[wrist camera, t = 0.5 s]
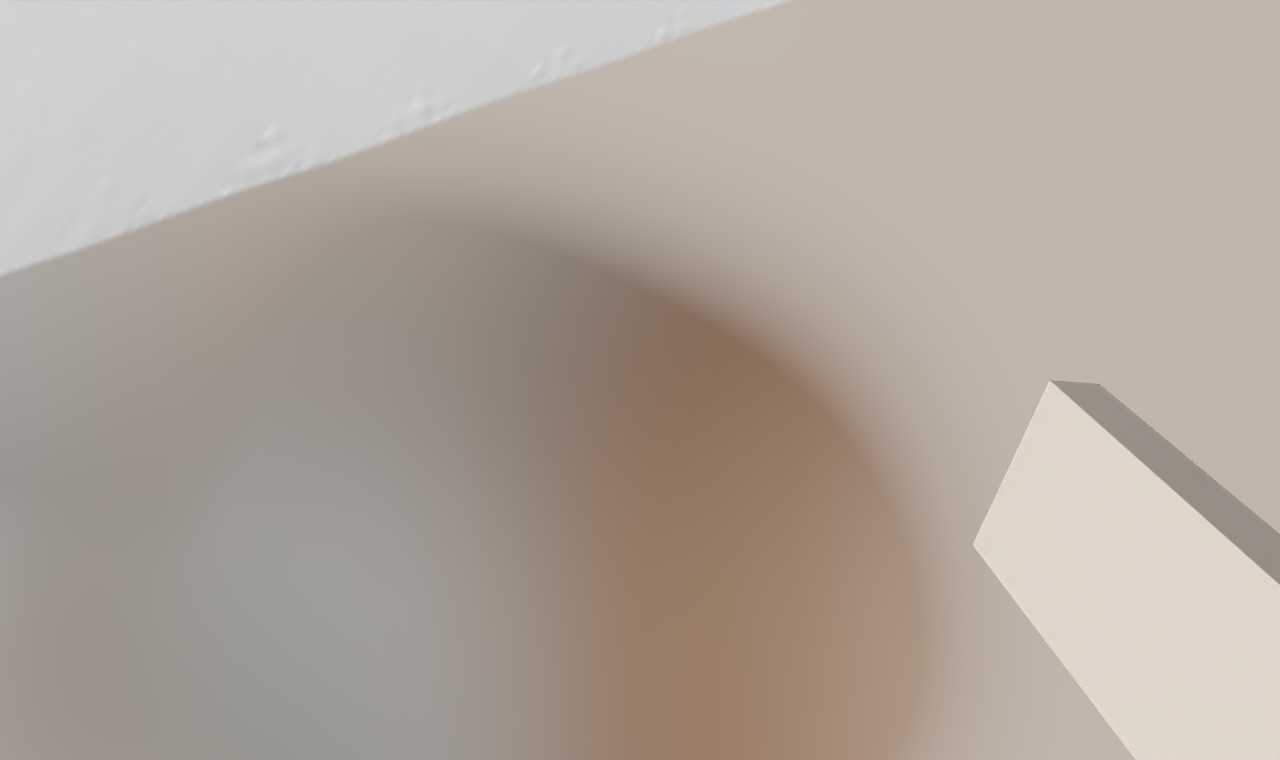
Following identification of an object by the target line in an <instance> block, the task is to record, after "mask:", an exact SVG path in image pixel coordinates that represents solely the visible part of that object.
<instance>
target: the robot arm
mask: <svg viewBox="0 0 1280 760" xmlns="http://www.w3.org/2000/svg"><path fill="white" fill-rule="evenodd" d="M973 546H974V547H975V549H976V550H977V551H978V552H979V554H980V555H981V556H982V558H983V559H984V560H985V562H986V563H987V564H988V566H989V567H990V568H991V570H992V571H993V572H994V574H995V575H996V576H997V578H998V579H999V580H1000V581H1001V583H1002V584H1003V585H1004V587H1005V588H1006V589H1007V591H1008V592H1009V593H1010V595H1011V596H1012V597H1013V599H1014V600H1015V601H1016V603H1017V604H1018V605H1019V607H1020V608H1021V609H1022V610H1023V612H1024V613H1025V614H1026V616H1027V617H1028V618H1029V620H1030V621H1031V622H1032V624H1033V625H1034V626H1035V628H1036V629H1037V630H1038V631H1039V633H1040V634H1041V635H1042V637H1043V638H1044V639H1045V640H1046V642H1047V643H1048V645H1049V646H1050V647H1051V649H1052V650H1053V651H1054V652H1055V654H1056V655H1057V656H1058V658H1059V659H1060V660H1061V662H1062V663H1063V664H1064V666H1065V667H1066V668H1067V670H1068V671H1069V672H1070V674H1071V675H1072V676H1073V678H1074V679H1075V680H1076V682H1077V683H1078V684H1079V686H1080V687H1081V688H1082V689H1083V691H1084V692H1085V693H1086V695H1087V696H1088V697H1089V699H1090V700H1091V701H1092V702H1093V704H1094V705H1095V706H1096V707H1097V709H1098V710H1099V712H1100V713H1101V714H1102V716H1103V717H1104V718H1105V720H1106V721H1107V722H1108V724H1109V725H1110V726H1111V728H1112V729H1113V730H1114V732H1115V733H1116V734H1117V736H1118V737H1119V738H1120V739H1121V741H1122V742H1123V743H1124V745H1125V746H1126V747H1127V748H1128V750H1129V751H1130V753H1131V754H1132V755H1133V757H1134V758H1135V759H1136V760H1280V534H1279V533H1278V532H1277V531H1276V530H1274V529H1273V528H1272V527H1271V526H1270V525H1268V524H1267V523H1266V522H1265V521H1263V520H1262V519H1261V518H1260V517H1259V516H1258V515H1256V514H1255V513H1254V512H1253V511H1251V510H1250V509H1249V508H1248V507H1247V506H1245V505H1244V504H1243V503H1242V502H1241V501H1239V500H1238V499H1237V498H1236V497H1235V496H1233V495H1232V494H1231V493H1230V492H1229V491H1227V490H1226V489H1225V488H1224V487H1222V486H1221V485H1220V484H1219V483H1218V482H1217V481H1215V480H1214V479H1213V478H1212V477H1211V476H1209V475H1208V474H1207V473H1206V472H1205V471H1203V470H1202V469H1201V468H1200V467H1198V466H1197V465H1196V464H1195V463H1193V462H1192V461H1191V460H1190V459H1189V458H1188V457H1186V456H1185V455H1184V454H1183V453H1182V452H1180V451H1179V450H1178V449H1177V448H1176V447H1174V446H1173V445H1172V444H1171V443H1170V442H1168V441H1167V440H1166V439H1165V438H1163V437H1162V436H1161V435H1160V434H1159V433H1158V432H1156V431H1155V430H1154V429H1153V428H1152V427H1150V426H1149V425H1148V424H1147V423H1145V422H1144V421H1143V420H1142V419H1141V418H1139V417H1138V416H1137V415H1136V414H1134V413H1133V412H1132V411H1131V410H1130V409H1129V408H1127V407H1126V406H1125V405H1124V404H1122V403H1121V402H1120V401H1119V400H1118V399H1117V398H1115V397H1114V396H1113V395H1112V394H1111V393H1109V392H1108V391H1107V390H1106V389H1105V388H1103V387H1102V386H1101V385H1100V384H1092V383H1077V382H1065V381H1051V380H1050V381H1049V383H1048V385H1047V388H1046V390H1045V392H1044V394H1043V396H1042V398H1041V400H1040V403H1039V405H1038V407H1037V409H1036V411H1035V414H1034V415H1033V418H1032V420H1031V422H1030V424H1029V426H1028V428H1027V430H1026V432H1025V435H1024V437H1023V439H1022V441H1021V443H1020V445H1019V447H1018V449H1017V452H1016V454H1015V456H1014V458H1013V460H1012V462H1011V464H1010V467H1009V469H1008V471H1007V473H1006V475H1005V477H1004V480H1003V482H1002V484H1001V486H1000V488H999V490H998V492H997V494H996V496H995V499H994V501H993V503H992V505H991V507H990V509H989V511H988V514H987V516H986V518H985V520H984V522H983V524H982V526H981V529H980V531H979V533H978V535H977V537H976V539H975V541H974V543H973Z"/></svg>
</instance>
